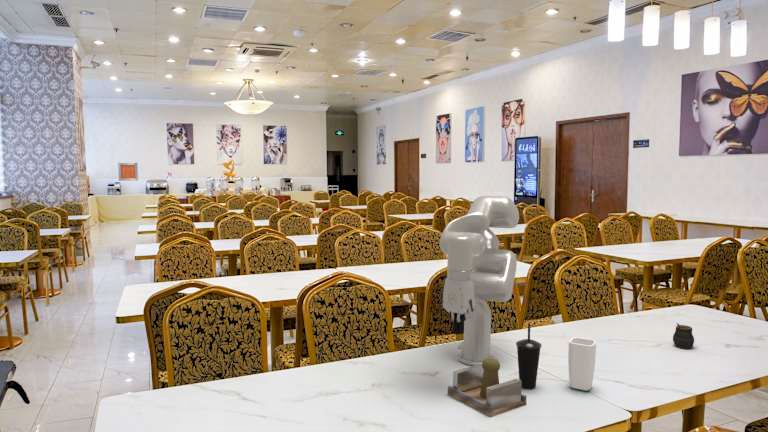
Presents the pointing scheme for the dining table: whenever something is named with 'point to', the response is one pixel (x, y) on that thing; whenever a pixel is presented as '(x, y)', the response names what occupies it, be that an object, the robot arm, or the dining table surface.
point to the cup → (581, 363)
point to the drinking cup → (528, 361)
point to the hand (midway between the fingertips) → (458, 333)
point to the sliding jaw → (468, 378)
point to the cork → (489, 374)
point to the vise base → (492, 397)
